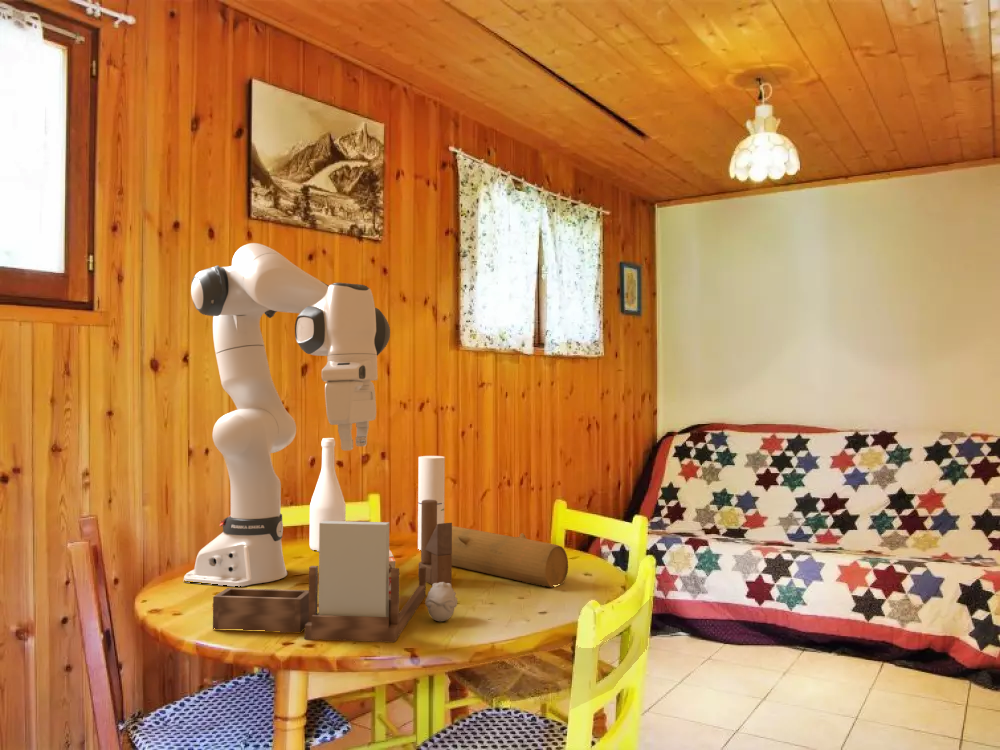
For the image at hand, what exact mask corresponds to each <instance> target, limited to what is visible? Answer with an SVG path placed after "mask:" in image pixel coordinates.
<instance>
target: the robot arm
mask: <svg viewBox="0 0 1000 750" xmlns="http://www.w3.org/2000/svg"><path fill="white" fill-rule="evenodd" d="M190 295H191V300H192V302H193V305H194V307H195V309H196V311H198V312H199V313H200V314H201V315H204V316H210V317H212V338H213V347H214V352H215V353H214V354H215V358H216V363H217V368H218V372H219V377H220V384H221V387H222V388H223V390H224V391H225V392H226V393H227V394H228V395H229V397H230V398H231V400H232V402H233V404H234V405H235V407H236V409H235V410H232V411H230V412H228V413H225V414H224V415H222V416H221V417H219V418H218V419H217V421H215V423H214V425H213V429H212V441H213V444H214V446H215V447H216V449H217V450H218V451H219V453H221V455H222V457H223V459H224V463H225V465H226V468H227V472H228V479H229V485H230V515H228V517H225V518H224V519H223V520H221V521H219V523H220V524H219V527H222V532H221V533H220V534H218V535H217V536H216V537H215V538H214V539H213V540H211V541H210V542H209V543H207V544H206V545H204V547H202V548H201V549H200V550H199V551H198V553H197V556H196V557H195V558H196V559H195V564H194V568H193V569H192V570H190V571H188V572H186V574H184V576H183V581H184V580H185V581H193V582H202V583H211V584H210V585H212V584H218V585H217V586H223V585H227V587H235V586H238V587H237V588H241V587H246V586H251V585H257V584H262V583H269V582H274V581H278V580H280V579H283V578H286V576H288V571H287V569H286V564H285V561H284V555H283V545H282V538H283V533H284V532H283V531H284V528H283V527H284V524H283V523H284V522H283V514H282V513H281V505H282V504H281V501H282V499H281V498H282V497H281V493H282V492H281V491H282V489H281V488H282V486H281V485H282V483H281V480H280V478H279V476H278V475H277V474H276V472H275V469H274V466H273V462H272V455H271V454H274V453H277V452H280V451H282V450H283V449H285V448H287V447H288V446H289V445H291V443H292V442H293V441H294V439H295V437H296V434H297V425H296V421H295V419H294V417H293V416H292V415H291V414H290V413H289V412H288V411H287V409H286V408H285V406H284V403H283V402H282V400H281V397H280V395H279V393H278V391H277V389H276V387H275V383H274V381H273V378H272V376H271V370H270V366H269V361H268V355H267V352H266V346H265V341H264V338H263V334H262V331H261V326H260V323H261V322H260V321H261V317H262V316H263V315H265V316H266V317H267V318H269V319H272V318H273V317H274V316H275V314H276V313H277V312H279V313H292V314H298V315H297V317H296V320H295V322H294V323H295V324H294V336H295V340H296V343H297V344H298V346H299V348H300V349H301V350H302V351H303V352H304V353H306V354H307V355H312V356H318V357H320V356H321V357H323V356H324V357H327V358H326V359H327V360H326V361H327V362H326V364H325V365H324V367H323V368H322V369H321V380H322V382H325V385H324V400H325V407H326V408H325V409H326V410H325V411H326V417H327V421H328V423H329V424H330V425H333V426H335V425H337V432H338V436H339V439H340V449H341V450H342V451H351V450H353V449H354V439H353V437H352V436H353V434H352V430H353V424H355V427H356V436H355V446H356V447H366V446H367V444H368V433H369V429H370V423H369V422H371V421H375V420H376V417H377V403H376V401H377V400H376V390H375V384H374V383H373V382H374V381H378V377H379V376H378V356H379V355H380V354H381V353H383V351H384V349H385V348H386V347H387V345H388V343H389V341H390V339H391V338H390V337H391V329H390V324H389V321H388V319H387V318H386V317H385V315H384V313H383V312H382V311H381V310H380V309H379V308H377V307H376V306H375V300H374V295H373V292H372V289H371V287H368V286H367V285H365V284H361V283H359V284H358V283H349V282H348V283H347V282H334V283H331V284H326V283H325V282H324V281H321V280H319V278H317V277H315V276H313V275H311V274H309V273H308V272H306V271H304V270H303V269H301V267H298V266H297V265H295V264H294V263H293V262H291V261H290V260H289V259H288V258H287V257H285V256H284V255H283V254H281V253H279V252H278V251H277V250H275V249H274V248H271V247H269V246H267V245H264V244H262V243H257V242H251V243H247V244H244V245H242V246H240V247H239V248H238V249H237V250H236V251H235V252H234V255H233V257H232V260H231V265H229V266H219V265H215V266H212V267H207V268H205V269H202V270H200V271H198V272H196V274H195V275H194V276H193V278H192V280H191V289H190ZM372 381H373V382H372ZM240 586H241V587H240Z"/></svg>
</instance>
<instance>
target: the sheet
mask: <svg viewBox="0 0 1000 750" xmlns="http://www.w3.org/2000/svg"><path fill="white" fill-rule="evenodd" d="M389 549H390V521H387V522H385V521H383V522H382V521H346V520H345V521H323V522H321V523H319V551H318V555H319V556H318V613H319V615H333V616H365V617H389Z"/></svg>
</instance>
